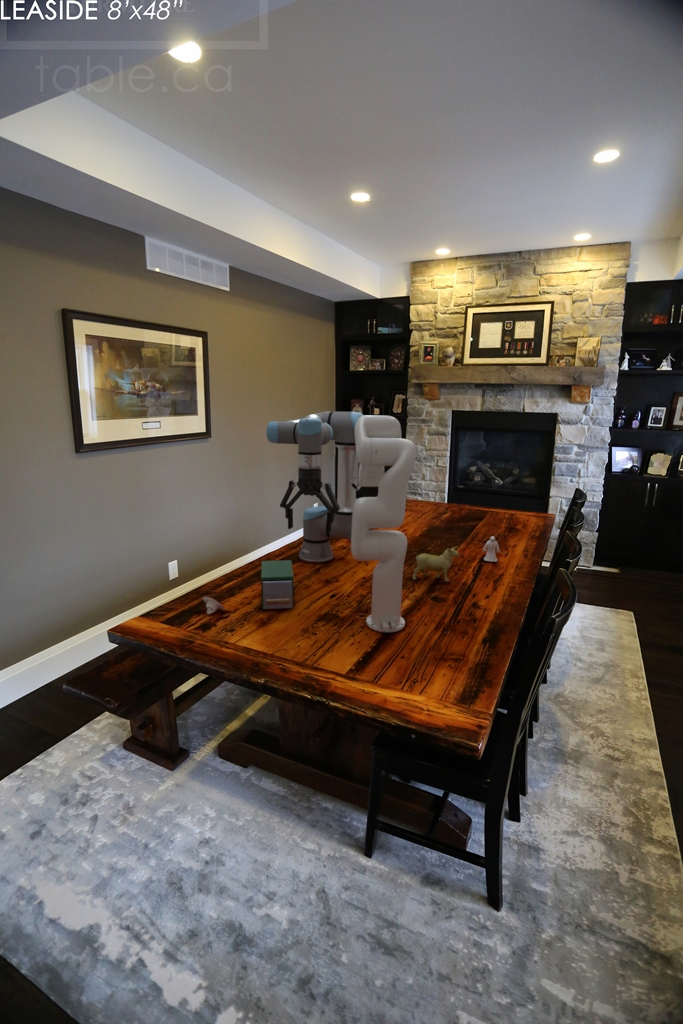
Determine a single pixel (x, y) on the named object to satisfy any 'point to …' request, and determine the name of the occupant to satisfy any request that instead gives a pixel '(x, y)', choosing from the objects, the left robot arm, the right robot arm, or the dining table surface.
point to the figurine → (491, 550)
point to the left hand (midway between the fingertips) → (309, 529)
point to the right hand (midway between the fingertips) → (370, 500)
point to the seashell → (212, 605)
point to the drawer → (277, 594)
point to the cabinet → (277, 573)
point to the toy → (436, 563)
